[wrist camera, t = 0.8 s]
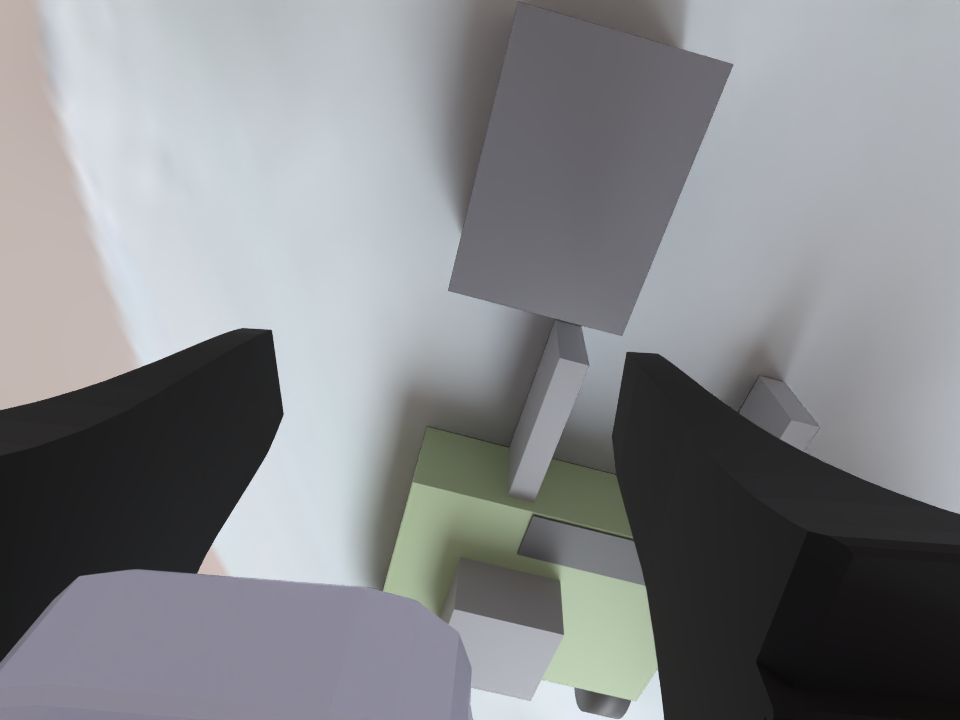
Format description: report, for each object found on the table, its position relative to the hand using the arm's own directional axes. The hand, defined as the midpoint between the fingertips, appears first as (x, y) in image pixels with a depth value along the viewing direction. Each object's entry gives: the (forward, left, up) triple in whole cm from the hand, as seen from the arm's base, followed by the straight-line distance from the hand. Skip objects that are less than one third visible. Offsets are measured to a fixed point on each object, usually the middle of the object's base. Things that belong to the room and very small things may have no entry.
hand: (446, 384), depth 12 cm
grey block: (-2, -4, -10) cm, 11 cm away
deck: (-6, +11, -10) cm, 16 cm away
